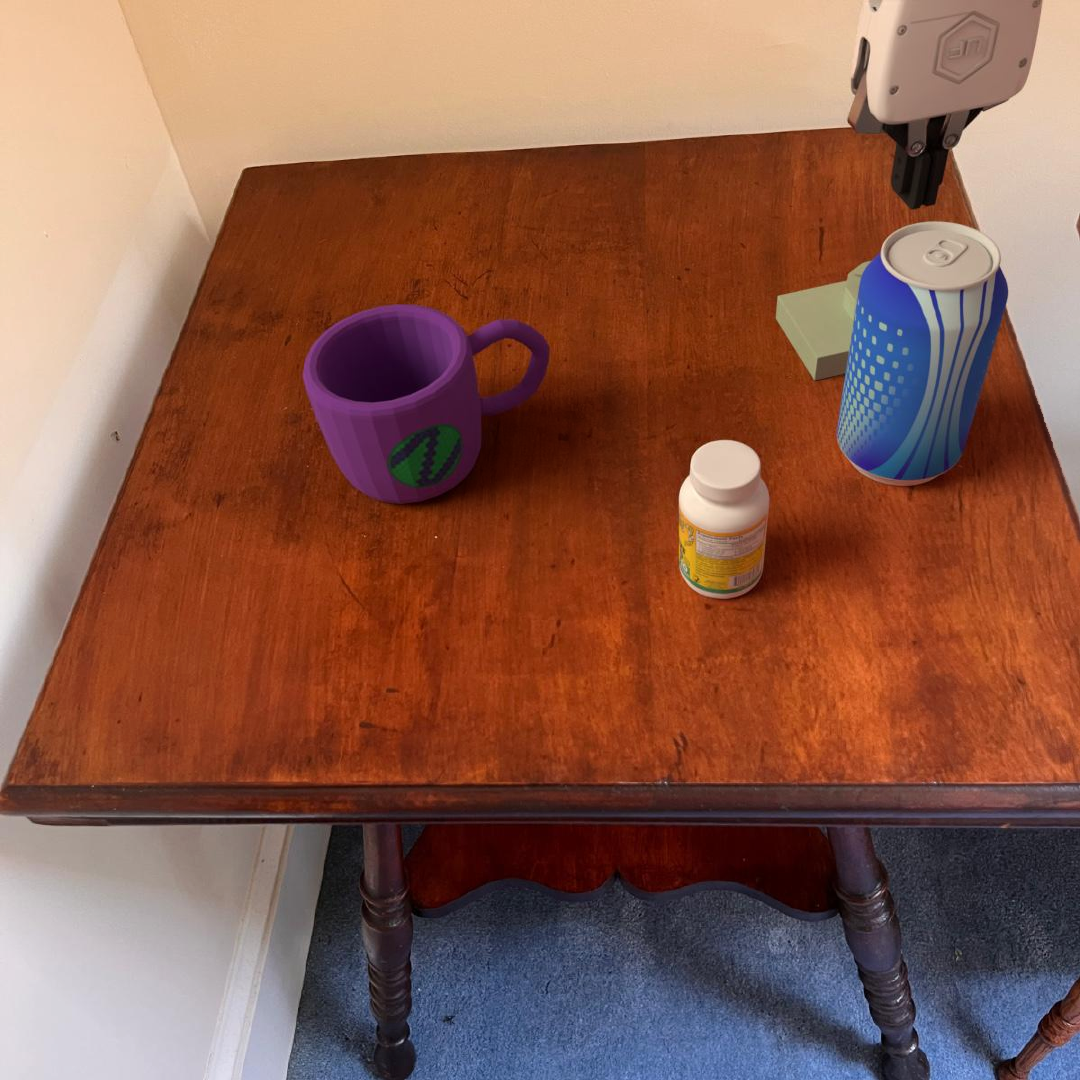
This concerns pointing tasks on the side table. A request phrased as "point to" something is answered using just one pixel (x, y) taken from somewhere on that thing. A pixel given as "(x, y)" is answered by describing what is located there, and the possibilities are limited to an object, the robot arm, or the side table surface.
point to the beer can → (920, 351)
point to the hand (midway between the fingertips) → (913, 197)
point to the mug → (409, 397)
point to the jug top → (821, 323)
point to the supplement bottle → (723, 520)
